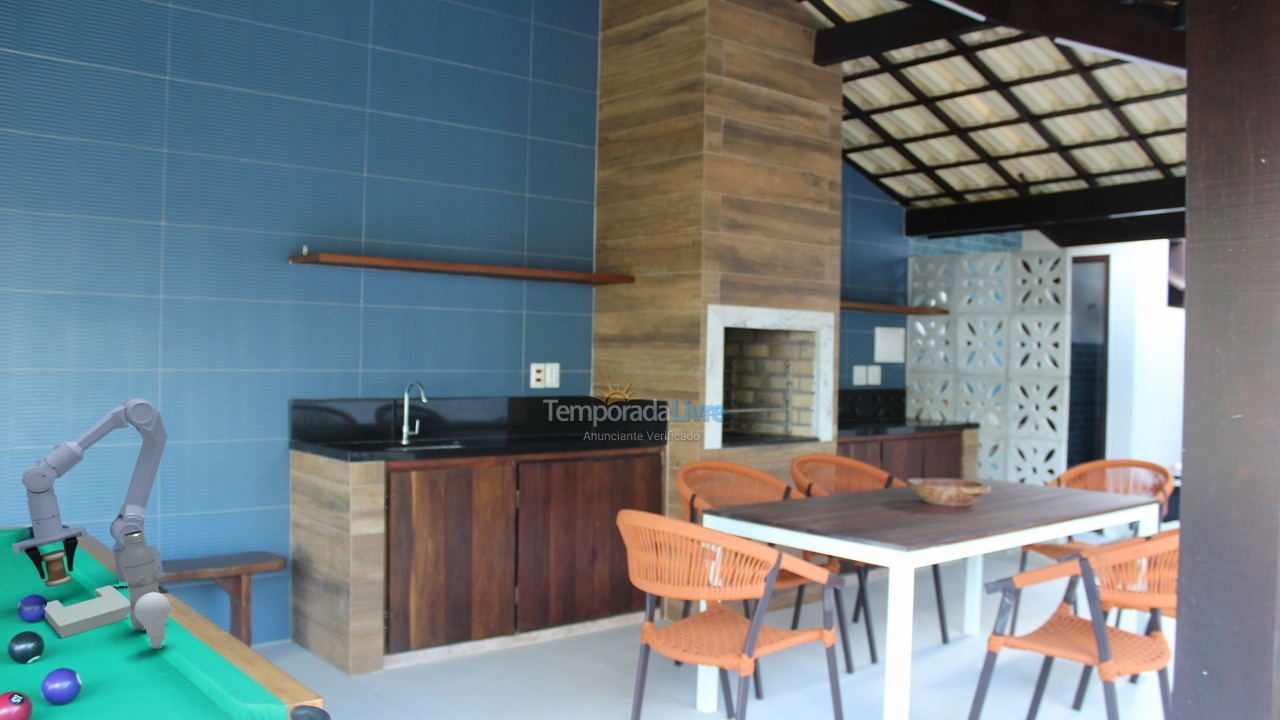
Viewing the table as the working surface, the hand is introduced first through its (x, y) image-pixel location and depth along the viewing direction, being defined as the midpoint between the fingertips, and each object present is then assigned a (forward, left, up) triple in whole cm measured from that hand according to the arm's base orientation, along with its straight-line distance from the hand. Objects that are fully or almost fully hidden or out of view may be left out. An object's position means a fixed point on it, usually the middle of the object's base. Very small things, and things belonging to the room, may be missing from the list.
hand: (57, 574), depth 227 cm
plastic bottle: (-39, +16, -7) cm, 43 cm away
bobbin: (0, 0, -2) cm, 2 cm away
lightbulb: (-50, +26, -7) cm, 57 cm away
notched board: (-16, +9, -7) cm, 20 cm away
